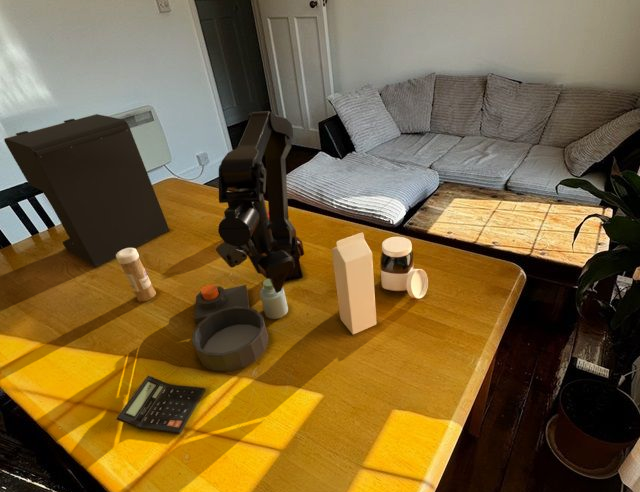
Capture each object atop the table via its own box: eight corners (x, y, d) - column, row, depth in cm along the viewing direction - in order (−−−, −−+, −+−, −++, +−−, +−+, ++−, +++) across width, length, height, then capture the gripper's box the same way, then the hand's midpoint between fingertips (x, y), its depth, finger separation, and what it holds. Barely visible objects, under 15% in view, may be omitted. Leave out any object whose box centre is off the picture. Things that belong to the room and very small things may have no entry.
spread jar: (385, 271, 106) (383, 232, 99) (429, 274, 104) (431, 234, 97) (377, 301, 97) (375, 260, 90) (426, 304, 94) (427, 263, 88)
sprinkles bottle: (158, 297, 104) (137, 252, 96) (138, 304, 102) (116, 259, 94) (154, 288, 107) (134, 244, 99) (135, 295, 105) (113, 251, 97)
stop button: (218, 289, 99) (216, 283, 98) (218, 298, 96) (216, 291, 95) (203, 292, 98) (201, 286, 97) (203, 302, 95) (200, 295, 94)
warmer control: (248, 291, 103) (244, 278, 101) (250, 313, 96) (246, 300, 94) (198, 302, 101) (193, 289, 99) (197, 326, 94) (191, 313, 92)
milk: (376, 324, 90) (372, 238, 77) (352, 335, 88) (343, 248, 75) (362, 309, 95) (356, 225, 82) (339, 319, 92) (329, 234, 80)
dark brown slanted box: (148, 212, 145) (106, 108, 125) (181, 225, 135) (140, 115, 115) (65, 249, 127) (0, 136, 107) (96, 268, 117) (30, 146, 97)
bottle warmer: (265, 316, 95) (260, 300, 92) (271, 361, 84) (266, 344, 81) (200, 332, 92) (193, 315, 89) (198, 380, 81) (190, 363, 78)
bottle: (286, 302, 99) (280, 272, 94) (289, 316, 94) (283, 286, 89) (264, 307, 98) (256, 278, 93) (266, 322, 93) (258, 292, 88)
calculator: (180, 434, 71) (174, 424, 69) (121, 427, 73) (114, 417, 72) (205, 390, 79) (201, 380, 77) (151, 385, 81) (146, 374, 79)
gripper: (198, 216, 85) (219, 277, 94) (233, 253, 72) (252, 319, 81) (249, 199, 90) (263, 259, 99) (289, 231, 77) (302, 296, 86)
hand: (269, 282), depth 91 cm, fingers open, 9 cm apart
